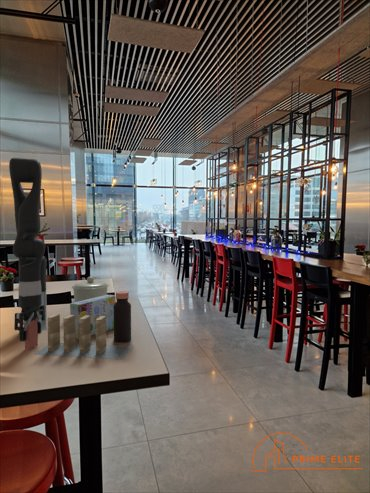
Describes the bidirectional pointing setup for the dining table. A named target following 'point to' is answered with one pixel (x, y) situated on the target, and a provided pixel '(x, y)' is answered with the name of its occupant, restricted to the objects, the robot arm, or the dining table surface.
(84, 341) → the domino
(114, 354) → the board
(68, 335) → the domino
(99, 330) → the domino
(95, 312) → the snack box
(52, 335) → the domino
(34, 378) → the dining table surface
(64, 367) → the dining table surface
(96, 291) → the canister
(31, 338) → the domino
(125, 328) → the bottle
